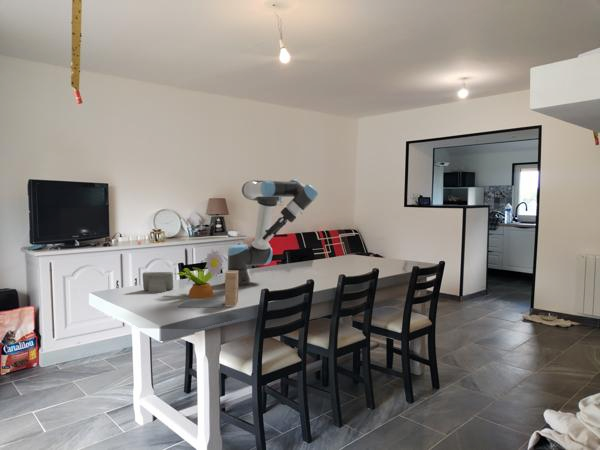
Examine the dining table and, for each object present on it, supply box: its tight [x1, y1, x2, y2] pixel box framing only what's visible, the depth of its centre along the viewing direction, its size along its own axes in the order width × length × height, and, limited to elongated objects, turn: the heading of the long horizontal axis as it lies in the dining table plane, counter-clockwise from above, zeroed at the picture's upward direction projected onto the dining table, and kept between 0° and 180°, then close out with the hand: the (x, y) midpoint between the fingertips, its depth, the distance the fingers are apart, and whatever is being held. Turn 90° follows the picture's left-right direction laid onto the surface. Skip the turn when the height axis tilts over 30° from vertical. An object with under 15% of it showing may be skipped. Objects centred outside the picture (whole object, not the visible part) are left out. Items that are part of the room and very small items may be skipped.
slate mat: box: [177, 299, 225, 309], centre depth 207 cm, size 13×20×1 cm, turn 89°
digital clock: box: [141, 271, 174, 293], centre depth 236 cm, size 16×9×11 cm, turn 89°
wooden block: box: [224, 270, 239, 307], centre depth 207 cm, size 7×5×16 cm
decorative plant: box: [173, 249, 224, 299], centre depth 227 cm, size 27×24×25 cm
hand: (260, 243), depth 207 cm, fingers open, 13 cm apart
